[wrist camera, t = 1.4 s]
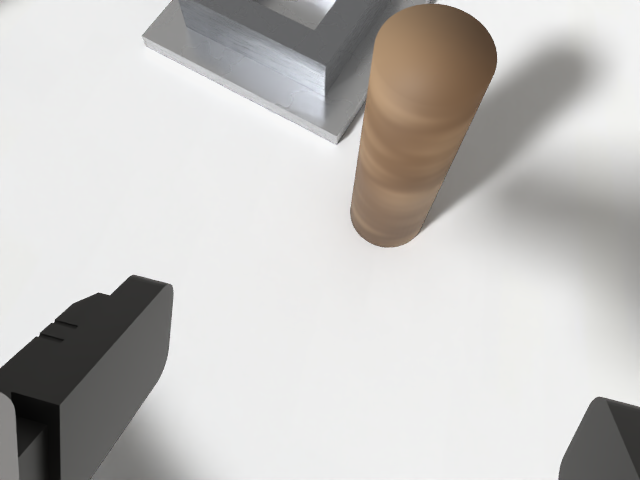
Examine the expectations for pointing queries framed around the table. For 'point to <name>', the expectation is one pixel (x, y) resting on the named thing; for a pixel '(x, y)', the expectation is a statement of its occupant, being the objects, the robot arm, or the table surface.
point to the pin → (416, 116)
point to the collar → (281, 52)
